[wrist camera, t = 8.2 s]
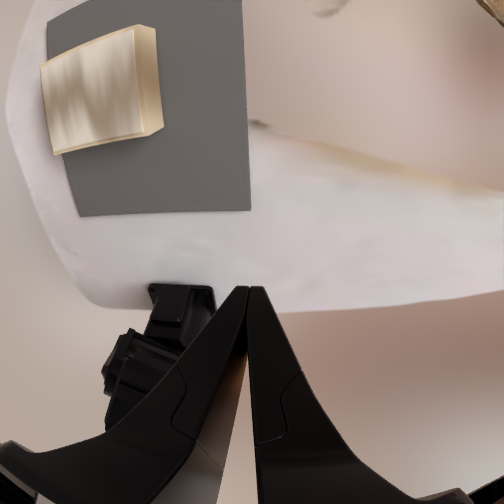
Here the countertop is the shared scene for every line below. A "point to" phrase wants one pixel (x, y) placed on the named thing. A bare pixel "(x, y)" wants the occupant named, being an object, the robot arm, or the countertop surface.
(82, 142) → the cream rectangular block
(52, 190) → the countertop surface
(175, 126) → the mat
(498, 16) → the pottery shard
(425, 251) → the countertop surface
